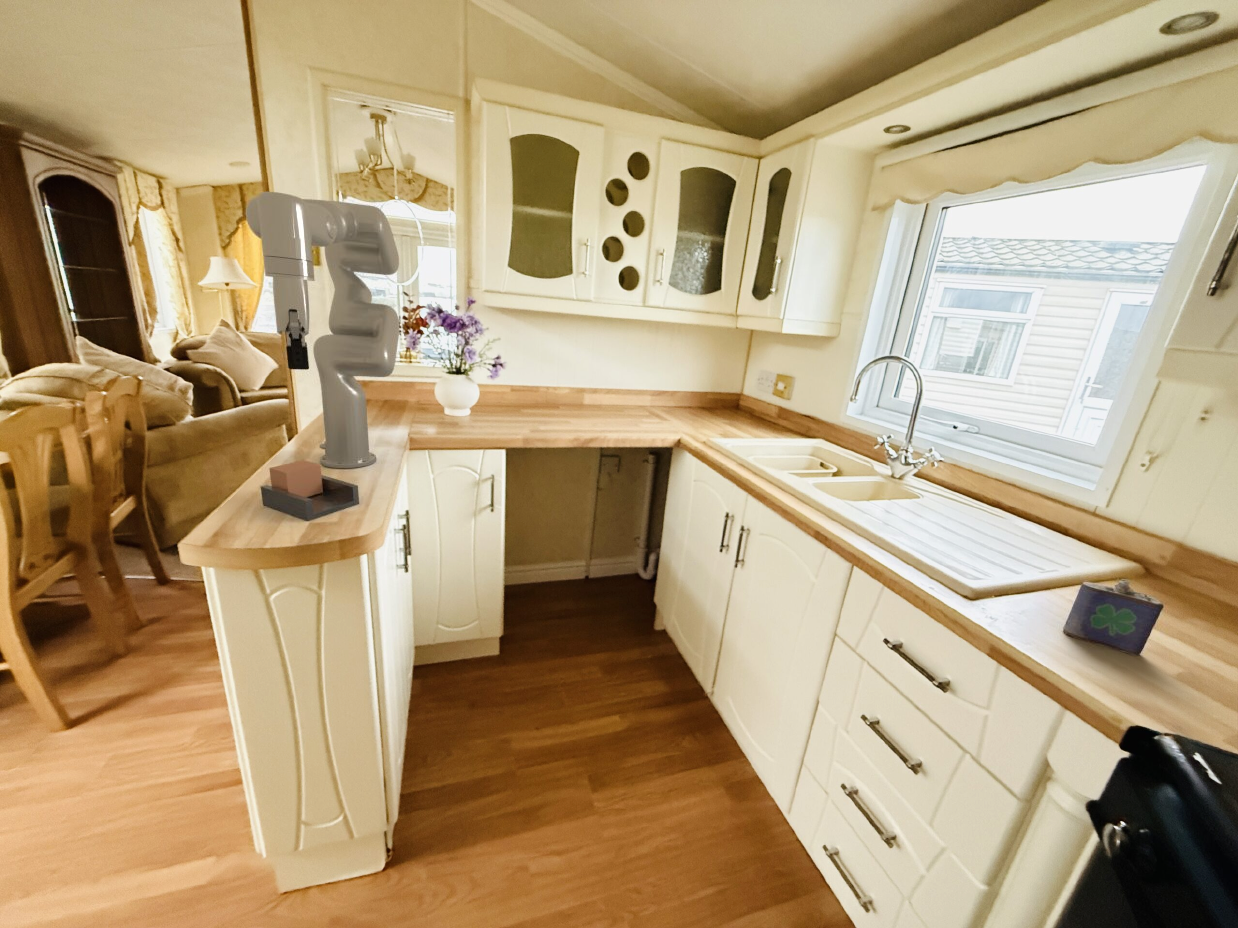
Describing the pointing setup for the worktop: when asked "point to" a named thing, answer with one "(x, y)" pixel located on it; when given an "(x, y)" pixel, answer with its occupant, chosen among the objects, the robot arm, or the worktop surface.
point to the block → (298, 478)
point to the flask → (1113, 616)
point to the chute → (312, 499)
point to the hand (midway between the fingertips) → (298, 365)
